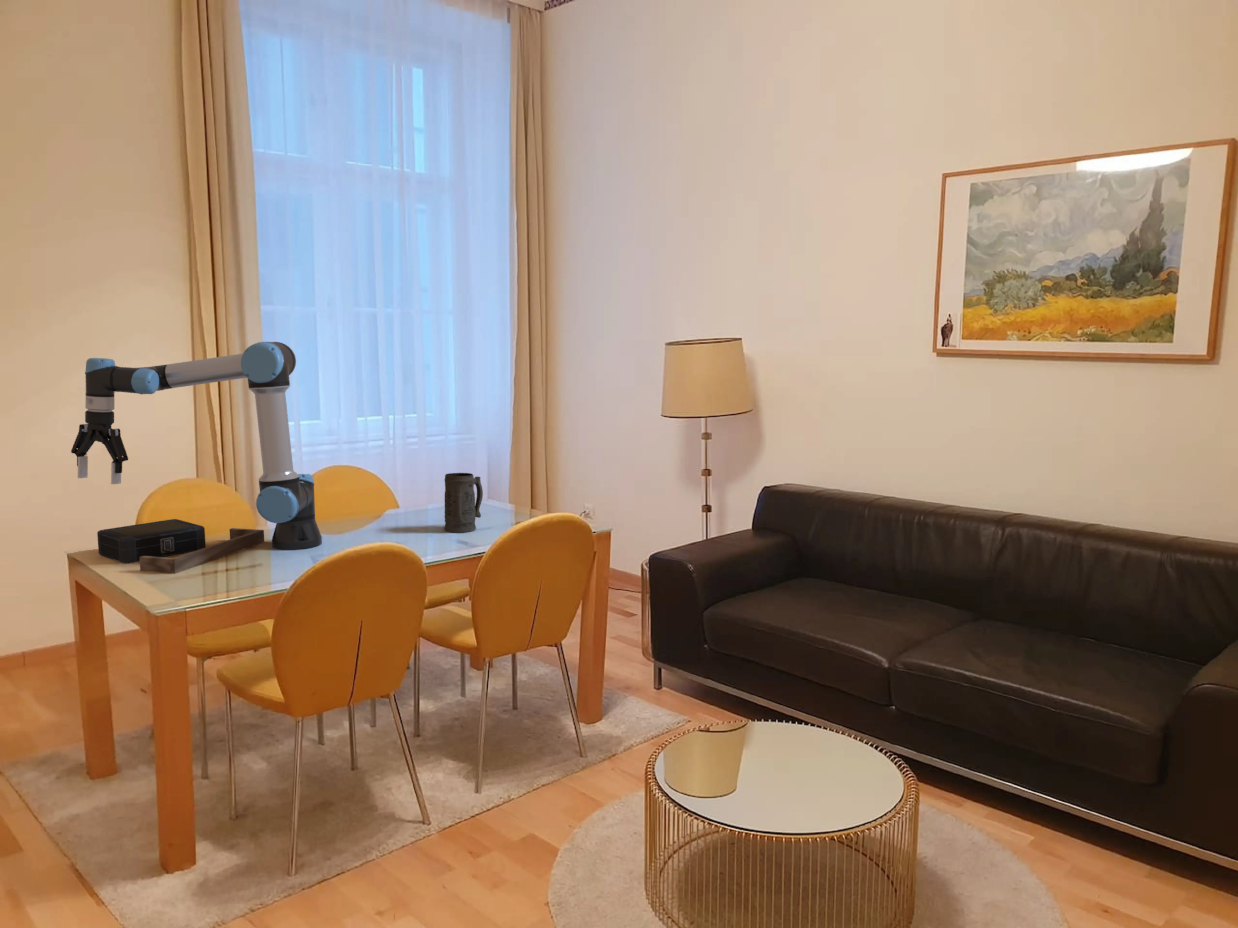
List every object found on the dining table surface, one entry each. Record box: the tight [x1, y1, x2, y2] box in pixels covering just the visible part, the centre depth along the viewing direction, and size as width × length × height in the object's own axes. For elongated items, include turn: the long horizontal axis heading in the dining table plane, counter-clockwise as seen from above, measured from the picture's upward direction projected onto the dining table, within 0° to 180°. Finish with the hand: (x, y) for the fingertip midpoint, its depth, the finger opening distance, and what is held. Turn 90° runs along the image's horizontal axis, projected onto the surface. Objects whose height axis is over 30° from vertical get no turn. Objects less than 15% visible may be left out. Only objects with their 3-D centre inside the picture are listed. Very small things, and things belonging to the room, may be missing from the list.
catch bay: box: [139, 527, 265, 574], centre depth 278 cm, size 12×41×4 cm, turn 166°
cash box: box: [96, 518, 207, 564], centre depth 283 cm, size 25×20×8 cm
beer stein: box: [444, 472, 484, 534], centre depth 318 cm, size 15×11×20 cm
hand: (99, 480), depth 274 cm, fingers open, 13 cm apart
